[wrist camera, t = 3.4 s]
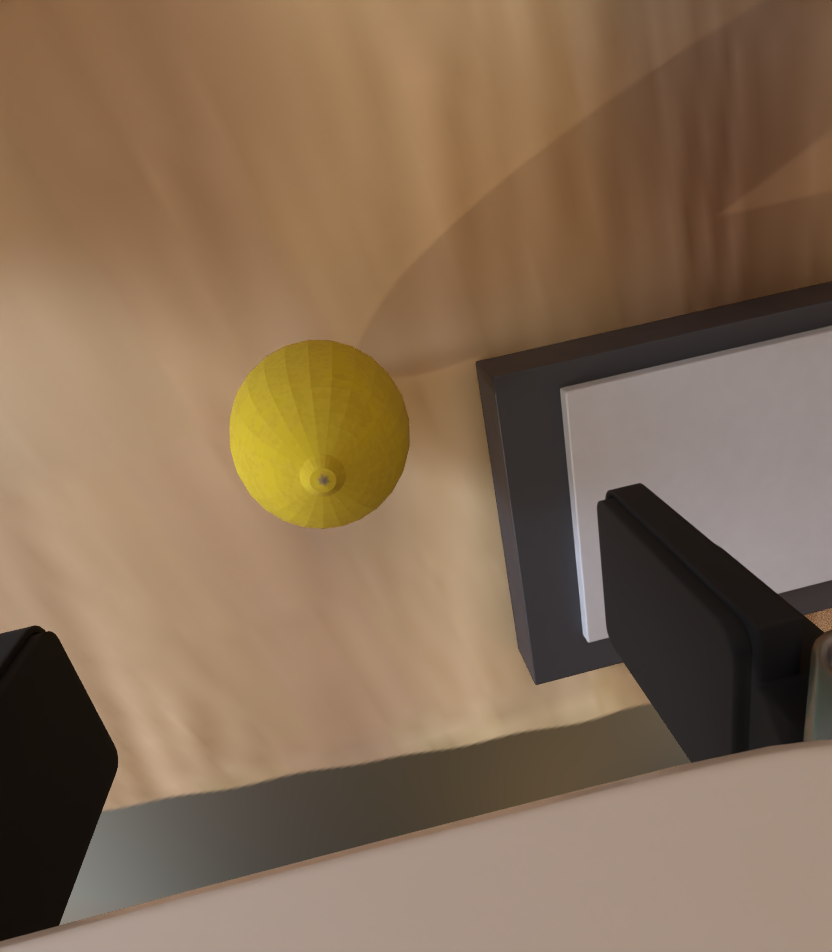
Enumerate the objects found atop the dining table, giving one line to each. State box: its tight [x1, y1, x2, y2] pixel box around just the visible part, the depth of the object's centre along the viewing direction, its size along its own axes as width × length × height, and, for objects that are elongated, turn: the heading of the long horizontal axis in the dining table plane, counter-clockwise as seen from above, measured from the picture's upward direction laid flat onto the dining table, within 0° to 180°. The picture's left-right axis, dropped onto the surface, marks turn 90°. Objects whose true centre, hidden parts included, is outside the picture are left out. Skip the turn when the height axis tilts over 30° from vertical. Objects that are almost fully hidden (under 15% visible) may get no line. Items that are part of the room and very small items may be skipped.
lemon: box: [230, 340, 409, 529], centre depth 20 cm, size 6×6×8 cm
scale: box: [476, 281, 832, 685], centre depth 26 cm, size 16×16×3 cm
